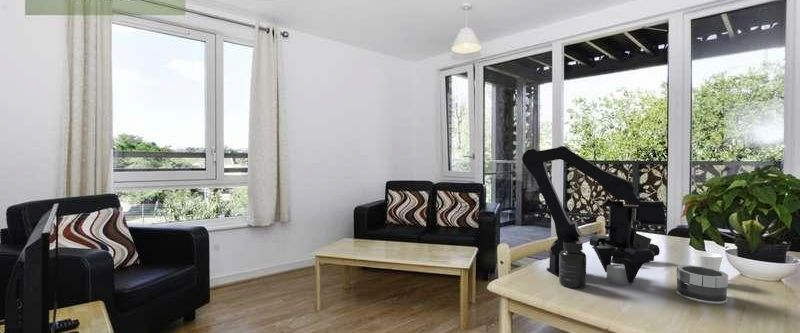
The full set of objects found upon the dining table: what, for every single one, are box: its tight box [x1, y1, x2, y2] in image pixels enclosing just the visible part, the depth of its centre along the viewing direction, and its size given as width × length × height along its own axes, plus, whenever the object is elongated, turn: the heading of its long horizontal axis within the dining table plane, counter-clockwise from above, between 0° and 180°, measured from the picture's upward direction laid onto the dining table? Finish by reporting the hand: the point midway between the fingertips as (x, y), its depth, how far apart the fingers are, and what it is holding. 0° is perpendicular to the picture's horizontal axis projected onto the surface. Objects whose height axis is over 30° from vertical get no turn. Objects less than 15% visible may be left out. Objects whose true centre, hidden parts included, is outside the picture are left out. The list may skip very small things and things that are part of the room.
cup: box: [691, 250, 723, 271], centre depth 109 cm, size 7×10×8 cm
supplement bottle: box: [558, 240, 587, 290], centre depth 105 cm, size 7×7×12 cm
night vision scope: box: [611, 243, 661, 264], centre depth 127 cm, size 8×18×10 cm
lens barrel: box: [675, 264, 729, 305], centre depth 97 cm, size 10×10×6 cm
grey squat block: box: [606, 263, 632, 286], centre depth 108 cm, size 6×6×4 cm
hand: (618, 277), depth 108 cm, fingers open, 9 cm apart
